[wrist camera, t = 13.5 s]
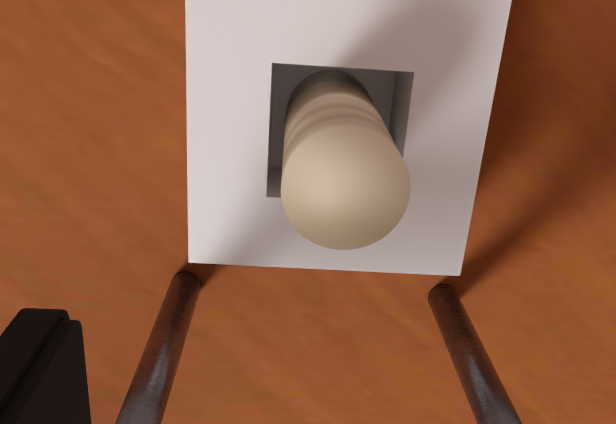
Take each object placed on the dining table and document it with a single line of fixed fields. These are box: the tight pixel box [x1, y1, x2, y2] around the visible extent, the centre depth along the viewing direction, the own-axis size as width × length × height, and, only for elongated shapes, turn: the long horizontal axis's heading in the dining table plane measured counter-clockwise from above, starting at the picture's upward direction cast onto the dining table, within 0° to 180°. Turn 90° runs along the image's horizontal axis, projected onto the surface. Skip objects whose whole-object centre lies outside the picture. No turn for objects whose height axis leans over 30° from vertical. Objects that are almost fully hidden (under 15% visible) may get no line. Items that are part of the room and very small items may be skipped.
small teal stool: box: [115, 272, 522, 424], centre depth 25 cm, size 6×16×16 cm, turn 86°
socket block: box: [185, 0, 512, 276], centre depth 26 cm, size 12×12×5 cm
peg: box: [281, 70, 411, 250], centre depth 23 cm, size 4×4×10 cm
